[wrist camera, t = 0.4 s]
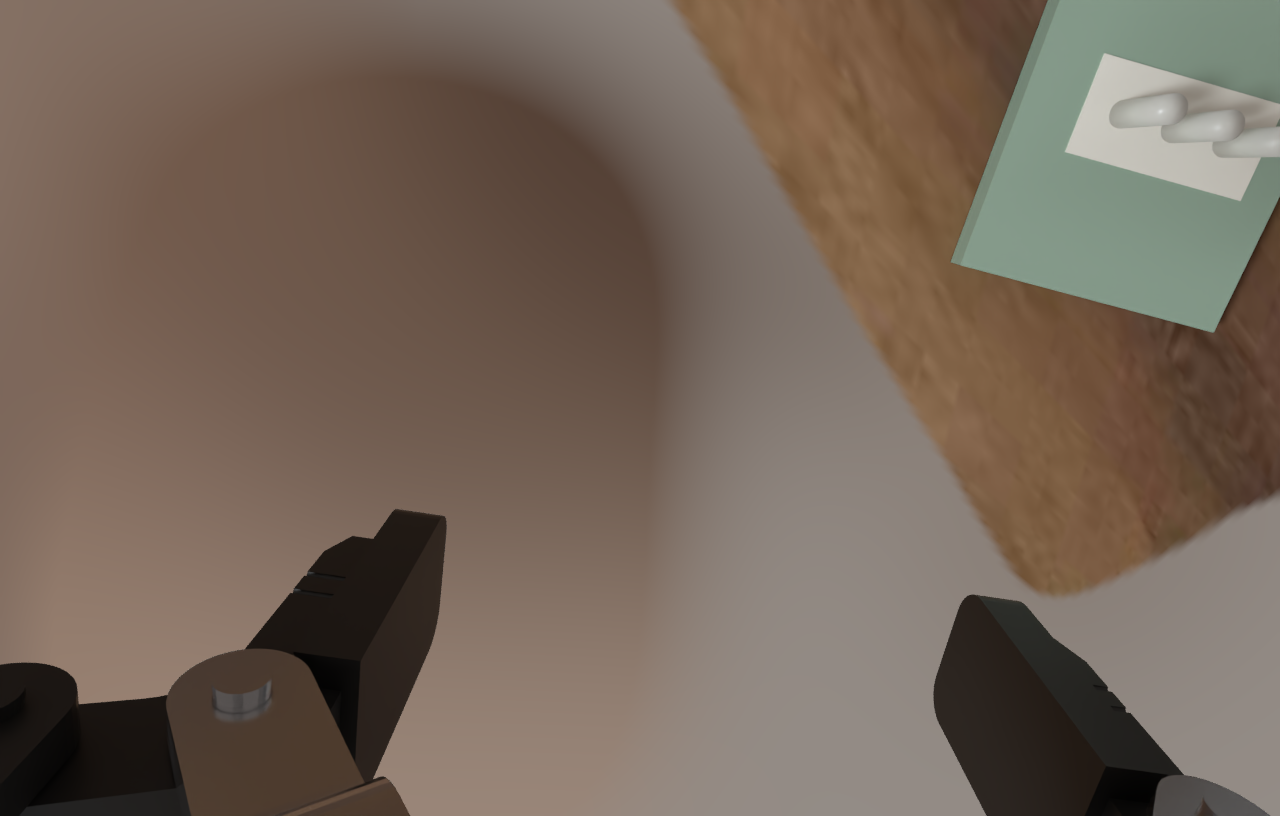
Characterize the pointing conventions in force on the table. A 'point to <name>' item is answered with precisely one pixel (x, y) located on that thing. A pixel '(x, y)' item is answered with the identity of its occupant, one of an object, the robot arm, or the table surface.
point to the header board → (1136, 155)
